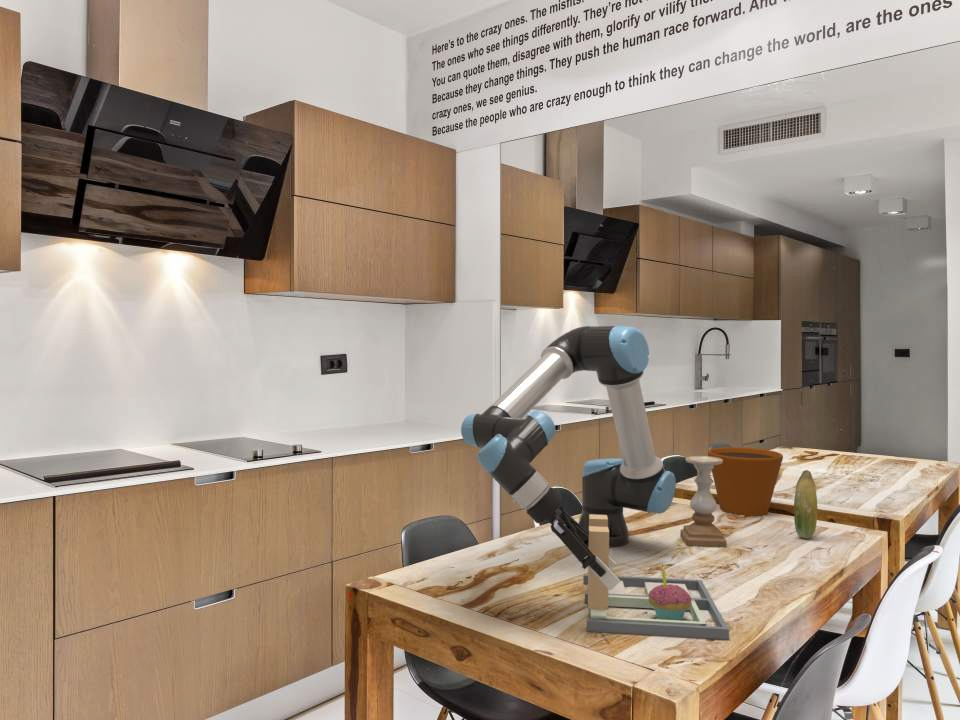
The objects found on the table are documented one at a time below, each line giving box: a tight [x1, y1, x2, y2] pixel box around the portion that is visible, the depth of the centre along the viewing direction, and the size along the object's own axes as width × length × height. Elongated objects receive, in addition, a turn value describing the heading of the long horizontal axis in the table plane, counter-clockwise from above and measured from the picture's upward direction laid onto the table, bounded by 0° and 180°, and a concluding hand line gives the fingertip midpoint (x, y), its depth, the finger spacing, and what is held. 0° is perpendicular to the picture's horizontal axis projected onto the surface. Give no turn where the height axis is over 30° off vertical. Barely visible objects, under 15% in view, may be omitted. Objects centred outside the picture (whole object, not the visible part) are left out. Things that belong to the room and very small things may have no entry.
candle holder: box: [679, 455, 728, 548], centre depth 200 cm, size 11×11×24 cm
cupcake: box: [649, 563, 692, 621], centre depth 143 cm, size 9×8×12 cm
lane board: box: [582, 573, 730, 641], centre depth 150 cm, size 27×28×2 cm
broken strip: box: [589, 514, 692, 598], centre depth 157 cm, size 22×10×17 cm, turn 83°
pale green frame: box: [587, 526, 707, 626], centre depth 144 cm, size 22×13×18 cm, turn 83°
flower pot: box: [707, 446, 784, 517], centre depth 237 cm, size 24×24×20 cm
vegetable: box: [793, 469, 818, 540], centre depth 204 cm, size 6×6×20 cm
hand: (613, 576), depth 145 cm, fingers open, 10 cm apart
